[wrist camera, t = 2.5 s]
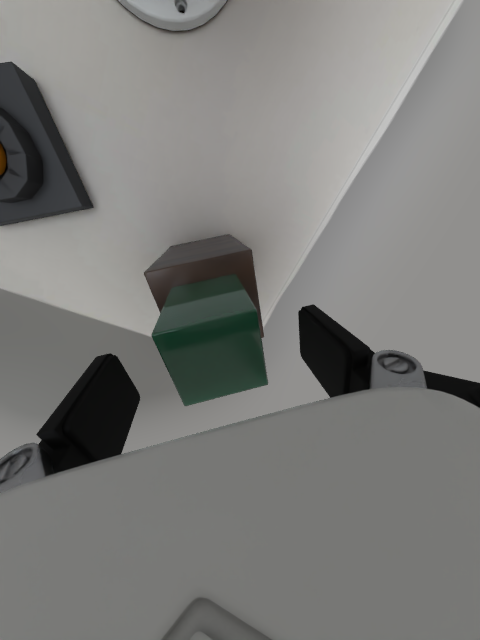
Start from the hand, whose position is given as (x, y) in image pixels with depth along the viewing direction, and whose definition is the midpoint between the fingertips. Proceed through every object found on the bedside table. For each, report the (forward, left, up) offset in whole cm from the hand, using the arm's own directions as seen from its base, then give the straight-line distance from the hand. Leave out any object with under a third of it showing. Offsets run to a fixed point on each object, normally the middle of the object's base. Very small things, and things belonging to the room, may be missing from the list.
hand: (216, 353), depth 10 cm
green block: (0, 0, -5) cm, 5 cm away
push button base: (-13, -14, -17) cm, 26 cm away
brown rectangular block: (0, 0, -17) cm, 17 cm away
